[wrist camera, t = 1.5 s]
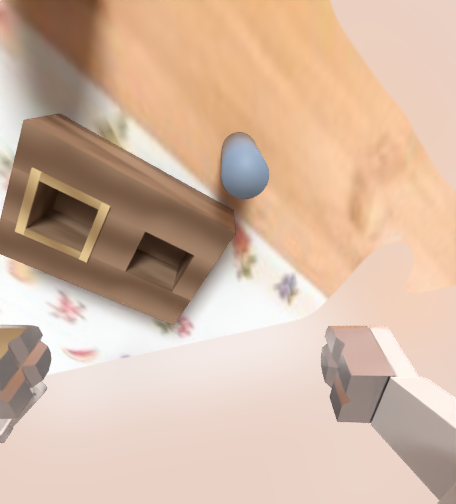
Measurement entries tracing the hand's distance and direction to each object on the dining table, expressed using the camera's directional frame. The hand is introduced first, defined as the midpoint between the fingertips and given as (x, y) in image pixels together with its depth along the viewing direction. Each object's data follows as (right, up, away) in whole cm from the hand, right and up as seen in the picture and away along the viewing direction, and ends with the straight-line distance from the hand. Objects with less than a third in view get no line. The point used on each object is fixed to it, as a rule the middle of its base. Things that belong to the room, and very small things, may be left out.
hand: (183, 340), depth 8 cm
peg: (+2, +13, +22) cm, 26 cm away
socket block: (-10, +6, +26) cm, 29 cm away
